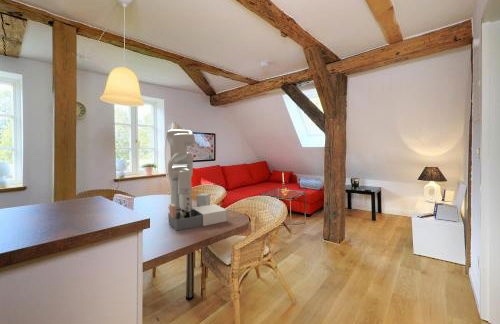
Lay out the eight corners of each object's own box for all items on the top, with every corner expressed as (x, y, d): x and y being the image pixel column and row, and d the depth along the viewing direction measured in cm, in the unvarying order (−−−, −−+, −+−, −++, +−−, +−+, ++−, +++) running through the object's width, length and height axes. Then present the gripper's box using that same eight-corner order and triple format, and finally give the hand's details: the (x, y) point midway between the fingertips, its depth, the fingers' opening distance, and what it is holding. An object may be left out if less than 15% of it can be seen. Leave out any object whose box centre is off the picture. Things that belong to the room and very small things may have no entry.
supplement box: (210, 210, 178) (210, 193, 176) (206, 213, 170) (205, 195, 169) (201, 209, 180) (201, 193, 178) (196, 212, 172) (196, 195, 171)
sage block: (188, 220, 151) (187, 210, 151) (190, 222, 147) (190, 212, 147) (180, 221, 149) (179, 211, 148) (182, 223, 145) (182, 213, 144)
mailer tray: (167, 222, 150) (167, 202, 149) (196, 217, 160) (195, 198, 159) (175, 230, 137) (175, 208, 136) (206, 224, 147) (206, 203, 146)
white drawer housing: (192, 218, 160) (192, 207, 159) (214, 214, 169) (214, 204, 168) (203, 226, 145) (203, 214, 144) (227, 221, 154) (227, 210, 154)
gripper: (196, 192, 141) (196, 222, 143) (186, 187, 156) (186, 215, 157) (183, 194, 137) (184, 225, 139) (174, 189, 151) (175, 217, 153)
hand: (185, 219), depth 148 cm, fingers open, 5 cm apart
